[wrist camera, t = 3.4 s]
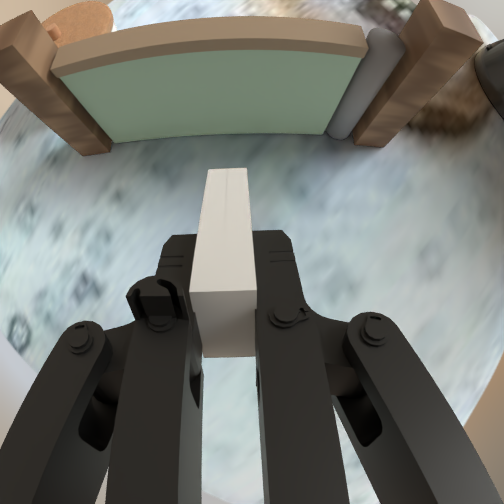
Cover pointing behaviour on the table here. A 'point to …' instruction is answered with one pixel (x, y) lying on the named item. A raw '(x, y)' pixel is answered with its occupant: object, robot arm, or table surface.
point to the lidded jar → (79, 22)
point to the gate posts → (364, 133)
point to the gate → (229, 76)
